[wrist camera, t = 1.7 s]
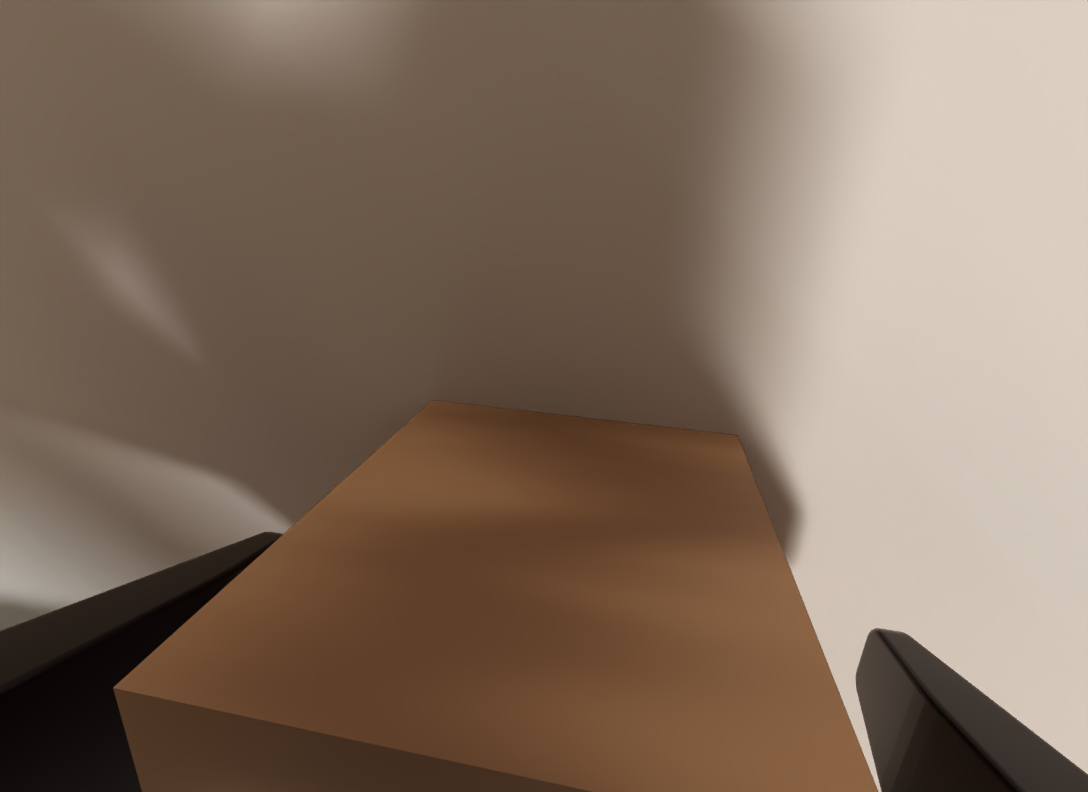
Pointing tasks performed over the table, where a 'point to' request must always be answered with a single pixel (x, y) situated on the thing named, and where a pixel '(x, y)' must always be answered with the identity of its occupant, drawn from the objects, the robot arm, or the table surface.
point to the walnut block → (507, 629)
